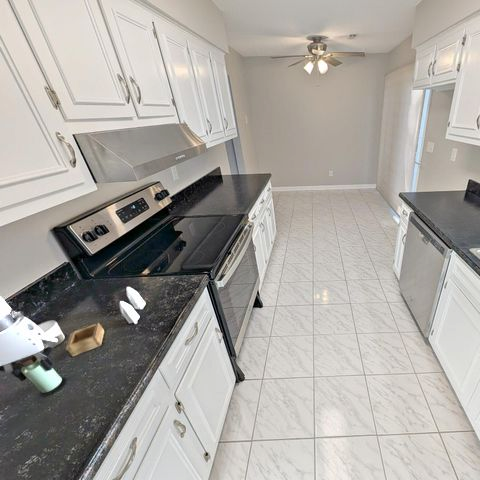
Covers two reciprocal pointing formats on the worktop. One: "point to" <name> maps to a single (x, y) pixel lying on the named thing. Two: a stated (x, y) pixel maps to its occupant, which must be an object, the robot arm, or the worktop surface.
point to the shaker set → (128, 309)
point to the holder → (85, 339)
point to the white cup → (52, 331)
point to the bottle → (39, 374)
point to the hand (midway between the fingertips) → (38, 370)
